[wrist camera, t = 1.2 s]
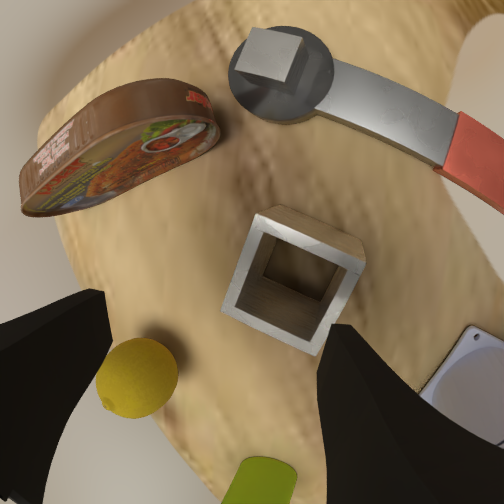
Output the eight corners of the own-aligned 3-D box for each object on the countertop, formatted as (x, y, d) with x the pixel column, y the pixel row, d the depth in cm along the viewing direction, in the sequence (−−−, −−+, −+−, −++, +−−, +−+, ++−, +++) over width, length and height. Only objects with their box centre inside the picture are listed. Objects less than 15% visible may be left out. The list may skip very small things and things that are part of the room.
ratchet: (543, 165, 11) (580, 166, 7) (517, 246, 13) (551, 264, 9) (257, 30, 15) (234, -1, 11) (225, 109, 17) (193, 93, 13)
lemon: (149, 309, 23) (79, 356, 15) (205, 351, 22) (147, 416, 15) (133, 351, 25) (73, 398, 17) (181, 389, 24) (130, 447, 16)
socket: (361, 240, 17) (366, 262, 12) (324, 314, 18) (315, 356, 14) (280, 204, 18) (255, 213, 13) (250, 279, 19) (220, 311, 15)
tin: (86, 213, 23) (5, 231, 15) (78, 179, 22) (-3, 188, 15) (243, 139, 17) (167, 115, 10) (229, 95, 17) (150, 50, 9)
